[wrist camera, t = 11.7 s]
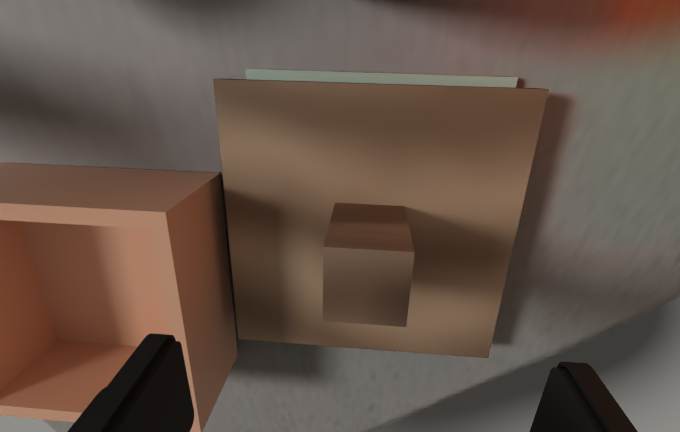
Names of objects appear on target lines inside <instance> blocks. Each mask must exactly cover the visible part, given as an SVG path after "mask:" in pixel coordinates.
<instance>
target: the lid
mask: <svg viewBox="0 0 680 432" xmlns="http://www.w3.org/2000/svg"><path fill="white" fill-rule="evenodd" d="M213 80H214V91H215V101H216V111H217V122H218V132H219V142H220V153H221V163H222V173H223V184H224V194H225V204H226V214H227V225H228V235H229V245H230V256H231V266H232V276H233V287H234V297H235V307H236V318H237V328H238V338H239V339H241V340H254V341H268V342H281V343H294V344H307V345H321V346H334V347H347V348H361V349H374V350H387V351H401V352H414V353H427V354H441V355H454V356H467V357H481V358H488V357H489V353H490V348H491V344H492V339H493V335H494V330H495V326H496V322H497V317H498V313H499V308H500V304H501V299H502V295H503V291H504V286H505V282H506V277H507V273H508V268H509V264H510V260H511V255H512V251H513V246H514V242H515V237H516V233H517V229H518V224H519V220H520V215H521V211H522V207H523V202H524V198H525V193H526V189H527V184H528V180H529V176H530V171H531V167H532V162H533V158H534V153H535V149H536V145H537V140H538V136H539V131H540V127H541V122H542V118H543V114H544V109H545V105H546V100H547V96H548V91H549V90H548V89H541V88H509V87H476V86H444V85H412V84H379V83H347V82H314V81H282V80H249V79H213Z"/></svg>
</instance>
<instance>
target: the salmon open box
mask: <svg viewBox="0 0 680 432" xmlns="http://www.w3.org/2000/svg"><path fill="white" fill-rule="evenodd" d="M150 333H153V334H167V335H173V336H174V337H175V339H176V341H180V343H181V345H182V351H183V356H184V361H185V366H186V371H187V377H188V382H189V387H190V392H191V398H192V403H193V408H194V422H193V425H192V428H191V430H190V432H202V431H203V429H204V427H205V425H206V422H207V420H208V418H209V416H210V414H211V412H212V409H213V407H214V405H215V403H216V401H217V399H218V396H219V394H220V392H221V390H222V388H223V386H224V383H225V381H226V379H227V377H228V375H229V372H230V370H231V368H232V366H233V364H234V362H235V359H236V357H237V355H238V353H237V343H236V332H235V322H234V312H233V302H232V291H231V281H230V271H229V261H228V250H227V240H226V230H225V220H224V209H223V199H222V189H221V179H220V173H208V172H188V171H167V170H147V169H127V168H106V167H86V166H65V165H45V164H24V163H4V162H2V163H0V415H2V416H13V417H14V416H15V417H25V418H35V419H45V420H56V421H67V422H76V420H77V419H78V418H79V417H80V415H81V414H82V413H83V412H84V410H85V409H86V408H87V407H88V405H89V404H90V403H91V401H92V400H93V399H94V398H95V396H96V395H97V394H98V393H99V392H100V391H101V390H102V389H103V388H105V387H107V386H108V384H109V383H110V382H111V380H112V379H113V378H114V377H115V375H116V374H117V373H118V371H119V370H120V369H121V368H122V366H123V365H124V364H125V362H126V361H127V360H128V359H129V357H130V356H131V355H132V353H133V352H134V351H135V350H136V348H137V347H138V346H139V344H140V343H141V342H142V341H143V339H144V338H145V337H146V336H147V335H148V334H150Z"/></svg>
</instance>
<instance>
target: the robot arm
mask: <svg viewBox="0 0 680 432" xmlns="http://www.w3.org/2000/svg"><path fill="white" fill-rule="evenodd" d="M193 422H194V408H193V403H192V398H191V392H190V387H189V382H188V377H187V371H186V366H185V361H184V356H183V351H182V345H181V343H180V341H176V339H175V337H174V336H173V335H167V334H153V333H150V334H148V335H147V336H146V337H145V338H144V339H143V341H142V342H141V343H140V344H139V346H138V347H137V348H136V350H135V351H134V352H133V353H132V355H131V356H130V357H129V359H128V360H127V361H126V362H125V364H124V365H123V366H122V368H121V369H120V370H119V371H118V373H117V374H116V375H115V377H114V378H113V379H112V380H111V382H110V383H109V384H108V386H107V387H105V388H103V389H102V390H101V391H100V392H99V393H98V394H97V395H96V396H95V398H94V399H93V400H92V401H91V403H90V404H89V405H88V407H87V408H86V409H85V410H84V412H83V413H82V414H81V415H80V417H79V418H78V419H77V420H76V422H75V423H74V424H73V426H72V427H71V428H70V429H69V431H68V432H190V430H191V428H192V425H193ZM530 432H637V430H636V429H635V427H634V426H633V425H632V423H631V422H630V420H629V419H628V417H627V416H626V415H625V413H624V412H623V410H622V409H621V408H620V406H619V405H618V403H617V402H616V401H615V399H614V398H613V396H612V395H611V394H610V392H609V391H608V389H607V388H606V386H605V385H604V384H603V382H602V381H601V380H600V378H599V377H598V375H597V374H596V372H595V371H594V370H593V369H592V367H591V366H590V365H588V364H587V363H573V362H560V363H559V364H558V366H557V368H555V367H554V368H552V369H551V371H550V374H549V377H548V380H547V383H546V386H545V388H544V391H543V394H542V397H541V400H540V403H539V406H538V409H537V412H536V415H535V418H534V421H533V424H532V427H531V430H530Z"/></svg>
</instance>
